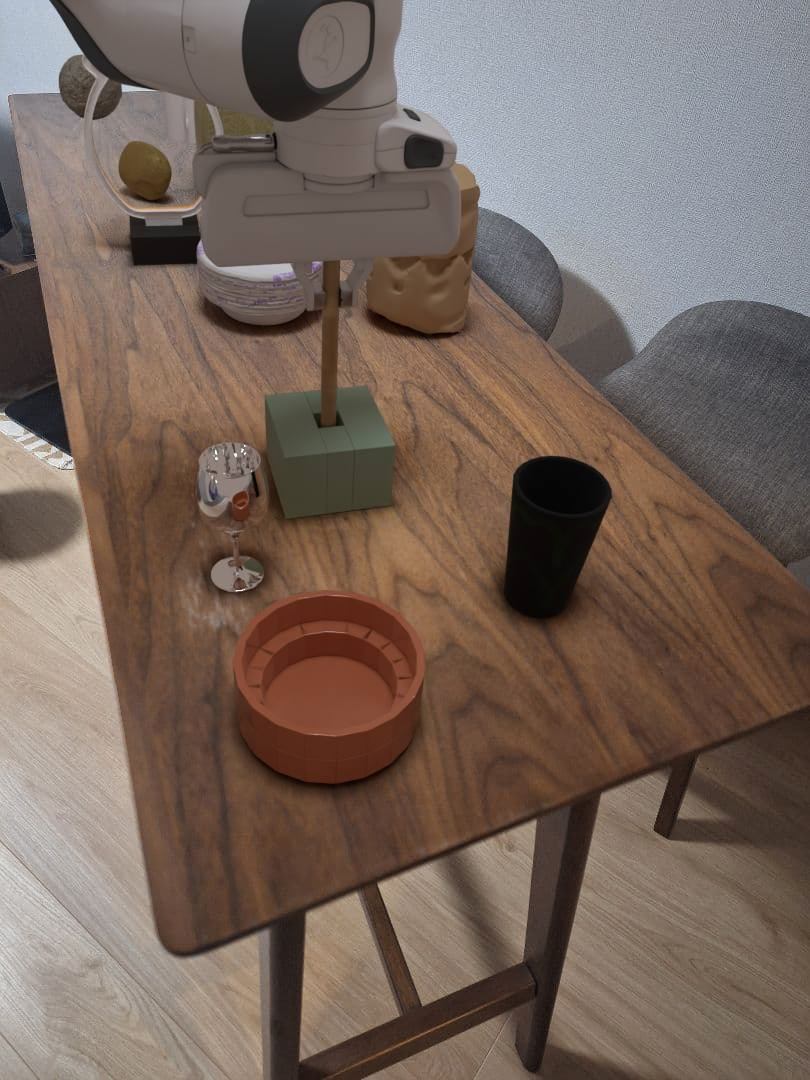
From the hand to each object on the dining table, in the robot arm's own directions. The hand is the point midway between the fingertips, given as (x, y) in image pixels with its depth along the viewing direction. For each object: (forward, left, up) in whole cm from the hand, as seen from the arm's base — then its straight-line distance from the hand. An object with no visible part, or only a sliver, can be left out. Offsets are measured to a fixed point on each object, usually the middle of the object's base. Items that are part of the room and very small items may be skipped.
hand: (331, 306), depth 76 cm
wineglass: (-10, -11, -18) cm, 24 cm away
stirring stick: (0, 0, -17) cm, 17 cm away
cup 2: (+14, -19, -18) cm, 30 cm away
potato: (-11, +71, -18) cm, 74 cm away
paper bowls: (0, +35, -18) cm, 40 cm away
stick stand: (0, 0, -18) cm, 18 cm away
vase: (+5, +69, -18) cm, 72 cm away
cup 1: (-2, +96, -18) cm, 98 cm away
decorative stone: (-17, +107, -18) cm, 110 cm away
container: (+18, +30, -18) cm, 40 cm away
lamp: (-10, +53, -18) cm, 57 cm away
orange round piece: (-6, -27, -18) cm, 33 cm away
